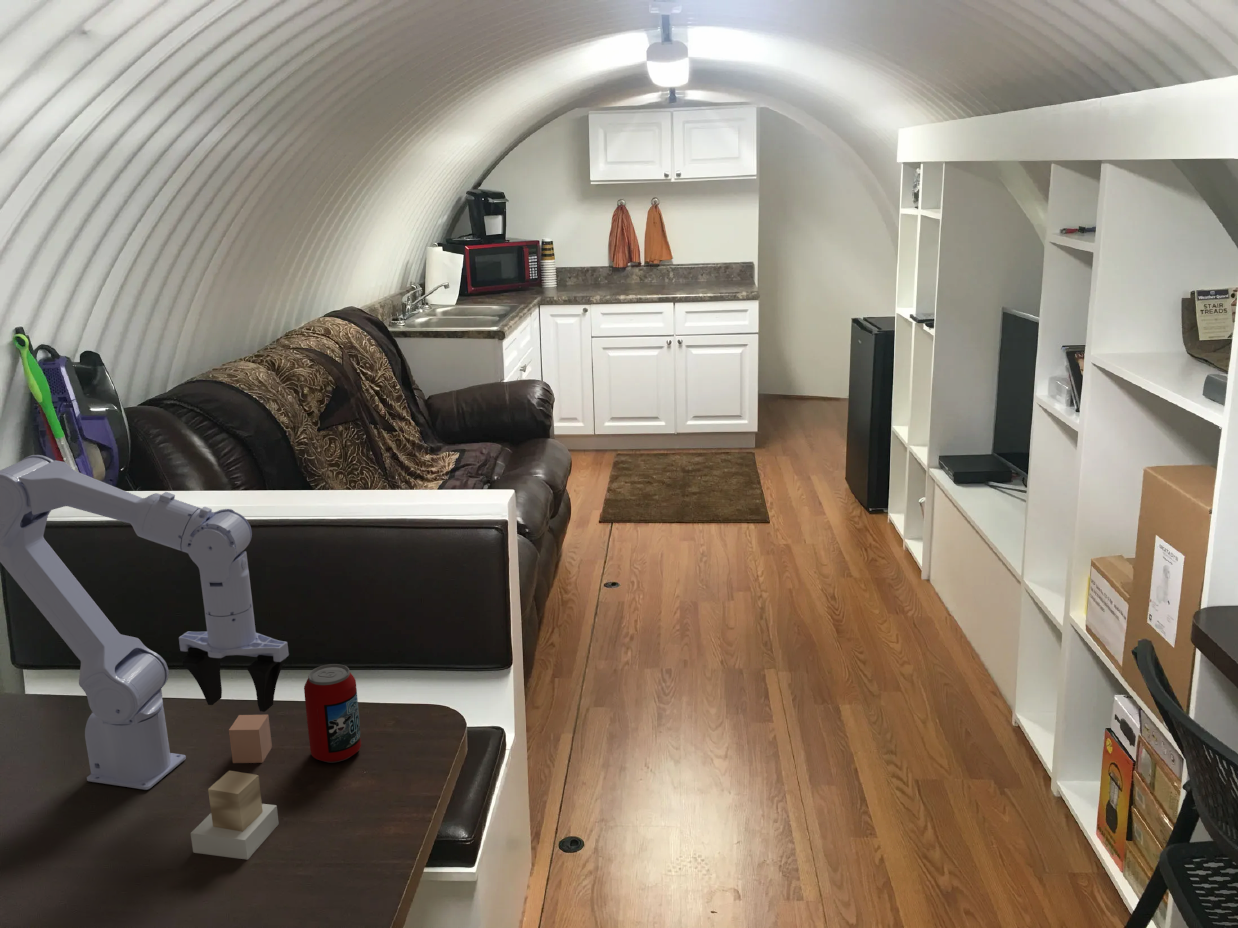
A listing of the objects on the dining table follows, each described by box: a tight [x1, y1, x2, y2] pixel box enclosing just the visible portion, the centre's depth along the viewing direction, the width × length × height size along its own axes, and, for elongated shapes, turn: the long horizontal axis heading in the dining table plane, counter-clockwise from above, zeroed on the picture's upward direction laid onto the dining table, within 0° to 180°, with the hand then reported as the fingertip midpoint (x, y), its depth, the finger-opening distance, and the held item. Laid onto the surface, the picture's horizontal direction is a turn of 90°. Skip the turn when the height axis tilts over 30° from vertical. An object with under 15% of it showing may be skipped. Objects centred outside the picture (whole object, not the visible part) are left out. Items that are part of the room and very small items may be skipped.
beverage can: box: [303, 663, 362, 764], centre depth 140 cm, size 7×7×12 cm
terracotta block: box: [228, 714, 273, 764], centre depth 141 cm, size 4×4×5 cm
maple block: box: [207, 770, 263, 832], centre depth 123 cm, size 4×4×5 cm
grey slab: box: [190, 803, 280, 860], centre depth 124 cm, size 7×7×3 cm
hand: (240, 704), depth 135 cm, fingers open, 7 cm apart
